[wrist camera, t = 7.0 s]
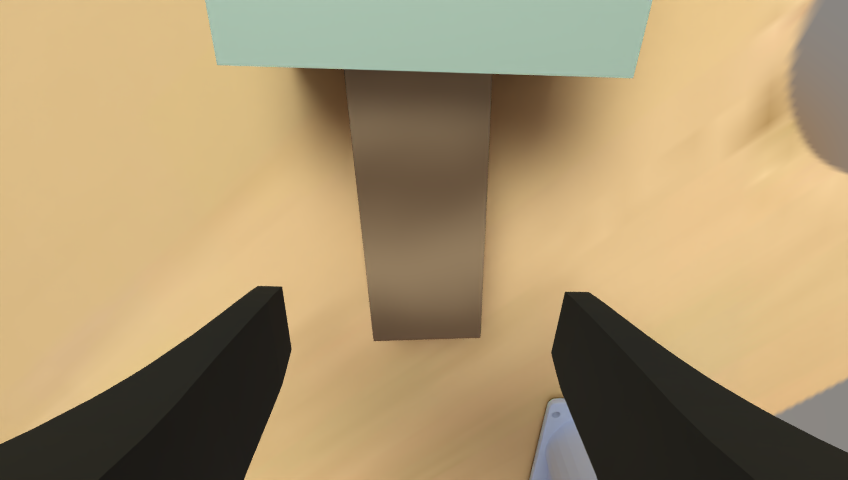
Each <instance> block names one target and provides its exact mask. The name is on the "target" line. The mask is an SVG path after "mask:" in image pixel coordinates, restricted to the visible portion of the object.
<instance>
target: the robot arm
mask: <svg viewBox="0 0 848 480" xmlns="http://www.w3.org/2000/svg"><path fill="white" fill-rule="evenodd" d="M290 353H291V343H290V336H289V330H288V323H287V316H286V310H285V303H284V297H283V290H282V287H274V286H257V287H256V288H254V289H253V290H251V291H250V292H249V293H247V294H246V295H245V296H243V297H242V298H241V299H239V300H238V301H237V302H235V303H234V304H233V305H232V306H230V307H229V308H228V309H226V310H225V311H224V312H222V313H221V314H220V315H218V316H217V317H216V318H214V319H213V320H212V321H210V322H209V323H208V324H206V325H205V326H204V327H202V328H201V329H200V330H198V331H197V332H196V333H194V334H193V335H192V336H190V337H189V338H187V339H186V340H184V341H183V342H181V343H180V344H179V345H177V346H176V347H174V348H173V349H171V350H170V351H168V352H167V353H165V354H164V355H163V356H161V357H160V358H158V359H157V360H155V361H154V362H152V363H151V364H149V365H148V366H146V367H144V368H143V369H141V370H140V371H138V372H136V373H135V374H133V375H132V376H130V377H128V378H127V379H125V380H123V381H121V382H120V383H118V384H116V385H115V386H113V387H111V388H109V389H108V390H106V391H104V392H103V393H101V394H99V395H97V396H95V397H94V398H92V399H90V400H88V401H86V402H84V403H82V404H80V405H78V406H76V407H75V408H73V409H71V410H69V411H67V412H65V413H63V414H61V415H59V416H57V417H55V418H53V419H51V420H49V421H47V422H45V423H44V424H42V425H40V426H38V427H36V428H34V429H32V430H30V431H28V432H25V433H23V434H21V435H19V436H17V437H15V438H13V439H11V440H8V441H6V442H4V443H2V444H0V480H244V478H245V475H246V473H247V470H248V468H249V465H250V463H251V460H252V458H253V455H254V453H255V451H256V448H257V446H258V443H259V441H260V438H261V436H262V434H263V431H264V429H265V426H266V424H267V421H268V419H269V417H270V414H271V412H272V409H273V407H274V404H275V402H276V399H277V397H278V394H279V392H280V389H281V387H282V383H283V380H284V376H285V373H286V369H287V365H288V361H289V357H290ZM551 354H552V358H553V362H554V366H555V370H556V374H557V377H558V381H559V385H560V388H561V391H562V393H563V396H564V398H555V399H552V400H550V401H549V402H548V404H547V408H546V413H545V417H544V421H543V425H542V429H541V433H540V437H539V442H538V446H537V450H536V454H535V458H534V462H533V467H532V471H531V475H530V479H529V480H848V453H847V452H845V451H843V450H841V449H839V448H837V447H835V446H832V445H830V444H828V443H826V442H824V441H822V440H820V439H818V438H816V437H814V436H812V435H810V434H808V433H806V432H804V431H802V430H800V429H798V428H796V427H795V426H792V425H791V424H789V423H787V422H785V421H783V420H781V419H779V418H777V417H775V416H773V415H772V414H770V413H768V412H766V411H764V410H762V409H761V408H759V407H757V406H755V405H753V404H752V403H750V402H748V401H746V400H745V399H743V398H741V397H740V396H738V395H736V394H735V393H733V392H731V391H729V390H728V389H726V388H724V387H723V386H721V385H719V384H718V383H716V382H715V381H713V380H711V379H710V378H708V377H707V376H705V375H703V374H702V373H700V372H699V371H697V370H696V369H694V368H693V367H691V366H690V365H688V364H687V363H685V362H684V361H682V360H681V359H680V358H678V357H677V356H675V355H674V354H672V353H671V352H669V351H668V350H667V349H665V348H664V347H662V346H661V345H660V344H658V343H657V342H655V341H654V340H653V339H651V338H650V337H649V336H647V335H646V334H645V333H643V332H642V331H641V330H639V329H638V328H637V327H635V326H634V325H633V324H631V323H630V322H629V321H627V320H626V319H625V318H623V317H622V316H621V315H619V314H618V313H617V312H616V311H614V310H613V309H612V308H610V307H609V306H608V305H606V304H605V303H604V302H602V301H601V300H599V299H598V298H597V297H595V296H594V295H592V294H591V293H589V292H565V295H564V299H563V303H562V308H561V312H560V317H559V321H558V326H557V330H556V334H555V339H554V343H553V348H552V352H551Z"/></svg>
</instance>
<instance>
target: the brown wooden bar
mask: <svg viewBox="0 0 848 480" xmlns="http://www.w3.org/2000/svg"><path fill="white" fill-rule="evenodd" d="M344 74H345V83H346V93H347V102H348V111H349V120H350V129H351V138H352V147H353V156H354V166H355V175H356V184H357V193H358V202H359V211H360V220H361V229H362V239H363V248H364V257H365V266H366V275H367V284H368V293H369V302H370V312H371V321H372V330H373V339H374V341H390V340H422V339H454V338H480V334H481V312H482V290H483V268H484V246H485V224H486V202H487V179H488V157H489V135H490V113H491V91H492V74H486V73H454V72H422V71H390V70H359V69H344Z"/></svg>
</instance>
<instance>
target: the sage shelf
mask: <svg viewBox="0 0 848 480" xmlns="http://www.w3.org/2000/svg"><path fill="white" fill-rule="evenodd" d="M205 2H206V7H207V13H208V18H209V23H210V29H211V34H212V39H213V45H214V50H215V56H216V61H217V65H232V66H263V67H295V68H327V69H359V70H390V71H422V72H454V73H486V74H517V75H549V76H581V77H613V78H633V76H634V72H635V68H636V64H637V60H638V56H639V52H640V48H641V44H642V40H643V36H644V32H645V28H646V24H647V20H648V16H649V12H650V8H651V4H652V0H205Z"/></svg>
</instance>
